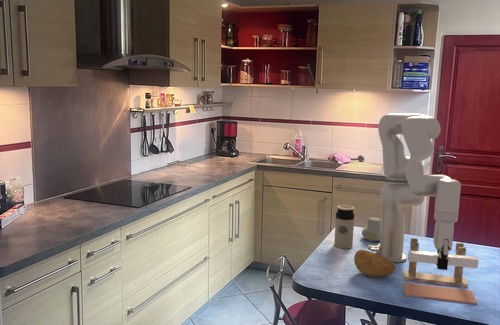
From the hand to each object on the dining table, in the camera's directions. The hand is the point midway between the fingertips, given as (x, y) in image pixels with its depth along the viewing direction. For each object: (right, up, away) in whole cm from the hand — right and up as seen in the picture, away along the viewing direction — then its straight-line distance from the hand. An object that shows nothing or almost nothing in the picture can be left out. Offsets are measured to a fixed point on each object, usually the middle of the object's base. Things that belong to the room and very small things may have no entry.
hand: (441, 266), depth 165 cm
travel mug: (-24, -2, +49) cm, 54 cm away
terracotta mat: (0, -10, +2) cm, 10 cm away
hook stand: (+3, -8, +13) cm, 16 cm away
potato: (-19, -7, +16) cm, 26 cm away
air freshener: (-8, 0, +59) cm, 59 cm away
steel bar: (0, +1, 0) cm, 1 cm away
